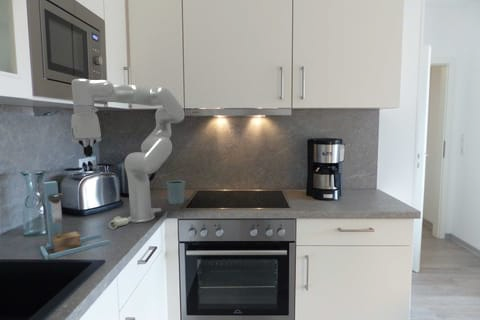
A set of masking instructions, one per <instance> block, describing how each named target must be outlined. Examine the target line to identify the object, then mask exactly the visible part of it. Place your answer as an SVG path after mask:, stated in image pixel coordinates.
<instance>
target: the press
mask: <svg viewBox="0 0 480 320" xmlns="http://www.w3.org/2000/svg"><path fill="white" fill-rule="evenodd" d="M42 189H43V198H44V207H45V213H46V214H45V215H46V224H47V234H48V242H47V243H45V244H46V245H45V246H43V245H41V246H40V253H41V254H42V256H43V258H44V260H45V261H47V260H50V259H54V258H59V257H62V256H67V255H71V254H73V253H77V252H78V253H79V252H83V251H86V250H90V249H95V248H98V247H101V246H105V245H110V240H109V239H107V240H102V241H98V242H94V243H91V244H90V243H89V244H86V245H83V246H82V245H81V247H78V248H73V249H69V250H65V251H61V252H57V253H55V252H54V253H50V254H49V253H48V252H47V251H49V250H53V243H52V237H53V236H56V234H61V235H62V234H63V229H62V228H63V226H62V222H58V223H53V219H52V209H51V201H48V195H51V194H59V187H58V181H56V180H53V181H45V182H44V181H43V182H42ZM99 238H102V233H97V234H93V235H88V236H84V237H80V241H81V243H82V242H86V241H87V242H88V241H90V240H95V239H99Z"/></svg>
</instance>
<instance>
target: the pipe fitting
mask: <svg viewBox="0 0 480 320" xmlns="http://www.w3.org/2000/svg"><path fill="white" fill-rule="evenodd" d="M127 218H128V217H121V216H120V215H118V216H115V217H114V218H113V219H112V220H111V221H109V222H108V229H110V230H115V229H116V228H118V227H119V228H120V227H123V226H127V225H128V224H129V223H130V222H129V220H128V219H127Z"/></svg>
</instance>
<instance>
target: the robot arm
mask: <svg viewBox="0 0 480 320" xmlns="http://www.w3.org/2000/svg"><path fill="white" fill-rule="evenodd" d="M71 92H72V105H73V114H71V125H70V126H71V132H70V133H71V138H72V143H74V144H79V145H80V146H82V149H83V155H84V156H85V157H87V158H88V157H92V156H93V154H94V151H93V146H94V145H95V144H96V143H98V142H101V141H102V137H101V134H102V133H101V132H102V131H101V127H100V121H99V120H100V119H99V116H98V115H97V113H96V112H99V107H96V106H95V101H97V102H106V103H108V102H109V103H120V104H129V105H130V104H133V105H142V106H149V107H157V106H159V107H158V108H157V110H156V111H155V117H154V118H155V125H156V126H155V128H154V129H153V131H151V133H150V134H149V135H148V136H147V137H146V138H145V139H144V140H143V141H142V143H141V146H140V150H141V151H139V152H137V151H136V152H131V153H129V154H128V155H127V156H126V157H125V158H124V168H125V172H126V177H127V187H128V199H129V213H130V216H128V217H126V218H127V219H128V220H129V222H128V223H145V222H150V221H152V220H154V219H156V215H155V214H156V213H161V212H162V208H161V207H158V208H156V207H152V201H151V190H150V189H151V188H150V187H151V185H150V184H151V183H150V178H149V177H150V176H149V175H151V174H154V173H155V172H157V171H158V170H159V169H160V167H161V166H162V165H163V164H164V163H165V162H166V160H168V158H169V156H170V155H171V153H172V149H173V144H172V143H173V142H172V141H171V139H170V138H171V137H172V128H171V127H172V126H171V124H177V123H181V122H182V121H183V120H184V119H185V110H184V108H183V106H182V104H181V103H180V102H179V101H178V99H177V98H176V97H175V96H174V94H173V93H172V92H171V91H170V90H169V89H168V88H166V87H164V86H157V87H148V86H142V85H137V84H119V85H118V84H117V85H114V84H113V83H112V82H111V81H109V80H106V79H88V78H75V79H72V80H71ZM160 106H161V107H160ZM87 140H88V143H87Z"/></svg>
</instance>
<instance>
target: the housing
mask: <svg viewBox="0 0 480 320" xmlns="http://www.w3.org/2000/svg"><path fill="white" fill-rule="evenodd" d="M80 238H81V235H80V233H79V232H78V231H70V232H68V233H62V235H61V234H56V236H53V237H52V243H53V249H52V250H53V252H54V253H57V252H61V251H65V250H69V249H73V248H78V247H82V244H81V243H82V242H81V241H80Z"/></svg>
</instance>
